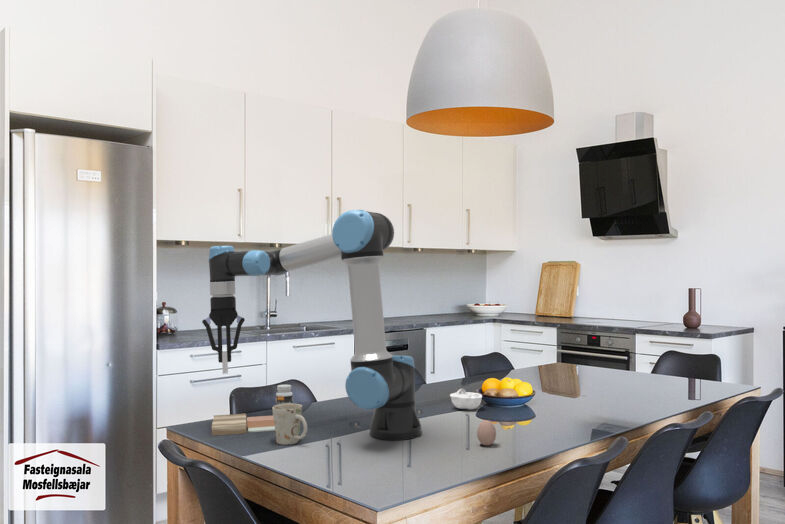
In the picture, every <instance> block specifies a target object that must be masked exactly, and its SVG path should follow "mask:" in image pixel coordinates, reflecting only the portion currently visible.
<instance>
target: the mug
mask: <svg viewBox="0 0 785 524" xmlns="http://www.w3.org/2000/svg"><path fill="white" fill-rule="evenodd" d="M302 412H303V405H302V404H300V403H294V402H293V403H288V404H279V405H276V404H275V405H273V406H272V416H273V418H274V425H275V439H276V443H277V444H278V445H284V446H285V445H288V444H289V445H294V444H297V443H298V442H299V441H300V440H302V439H304V438H305V437H306V435H307V433H308V423H307V421H306V419H305V417H304V416H303V415H302ZM301 423H302V427H303V430H302V433H301V435H300V431H301ZM289 445H288V446H289Z"/></svg>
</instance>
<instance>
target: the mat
mask: <svg viewBox="0 0 785 524" xmlns="http://www.w3.org/2000/svg"><path fill="white" fill-rule="evenodd" d="M272 431H275V426H270V427H255V428H247V433H258V432H272Z"/></svg>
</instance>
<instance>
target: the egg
mask: <svg viewBox="0 0 785 524" xmlns="http://www.w3.org/2000/svg"><path fill="white" fill-rule="evenodd" d="M476 430H477V431H476V436H477V439H478V442H479V443H480V444H481V445H483V446H485V447H487V446H491V445H493V443H494V442H495V441H496V438H497V431H496V427H495V426H494V424H493V422H491V421H490V420H487V419H484V420H482V421H481V422H480V423H479V425H478V427H477V429H476Z"/></svg>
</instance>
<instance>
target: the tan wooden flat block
mask: <svg viewBox="0 0 785 524" xmlns="http://www.w3.org/2000/svg"><path fill="white" fill-rule="evenodd" d="M247 433H248V428H247V413H233V414H216V415H213V418H212V423H211V436H213V437H214V436H224V435H225V436H227V435H228V436H229V435H240V434H241V435H243V434H247Z"/></svg>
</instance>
